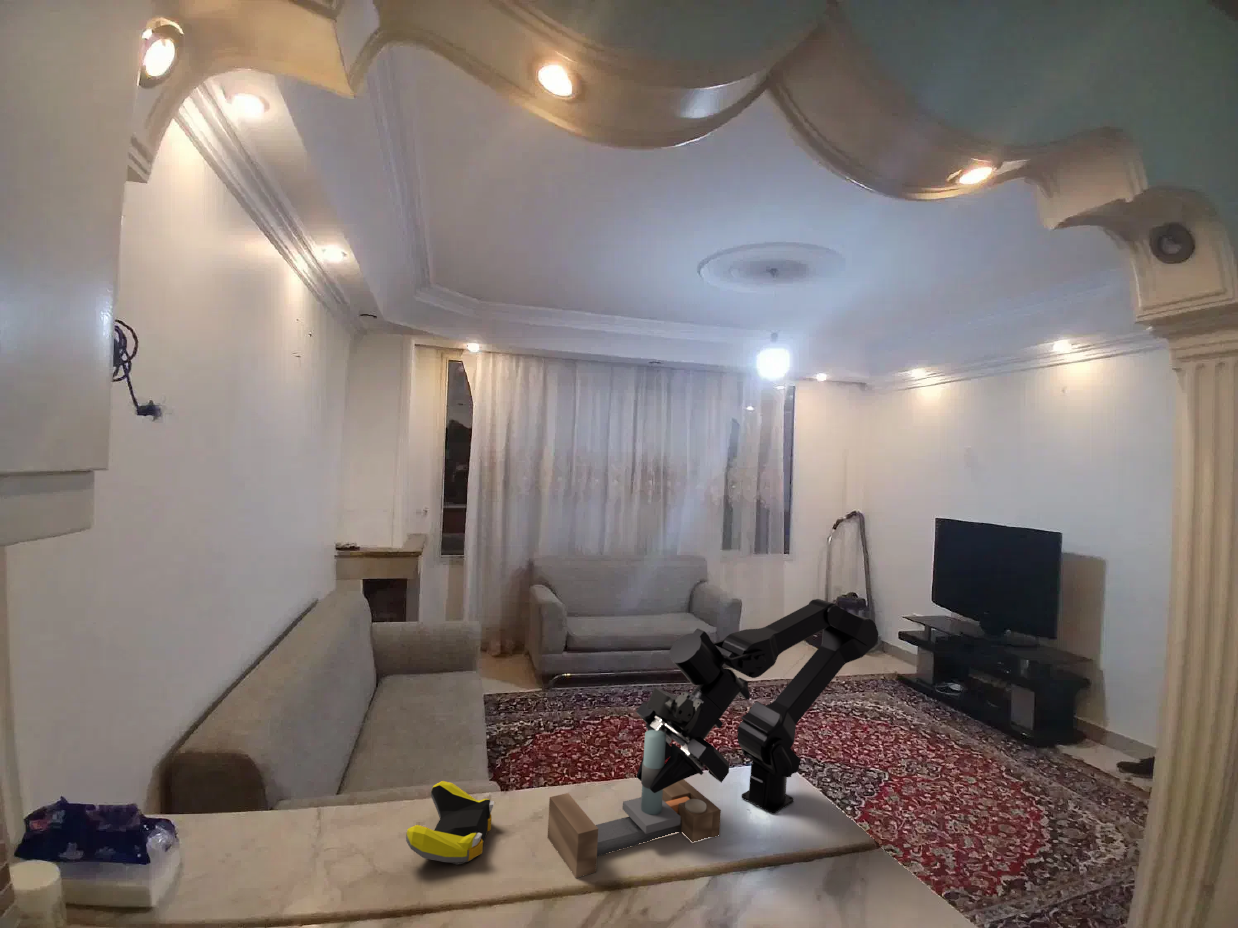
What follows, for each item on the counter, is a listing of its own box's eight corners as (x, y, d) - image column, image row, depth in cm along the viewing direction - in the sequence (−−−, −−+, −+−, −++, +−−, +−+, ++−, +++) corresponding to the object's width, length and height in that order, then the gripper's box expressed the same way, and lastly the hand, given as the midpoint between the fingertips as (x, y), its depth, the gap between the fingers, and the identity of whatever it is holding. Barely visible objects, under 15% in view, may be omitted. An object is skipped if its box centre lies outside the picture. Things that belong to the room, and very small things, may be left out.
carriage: (655, 800, 102) (659, 722, 102) (680, 824, 96) (685, 740, 96) (622, 809, 99) (626, 728, 99) (645, 833, 93) (650, 747, 93)
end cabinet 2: (682, 802, 107) (683, 775, 107) (719, 835, 98) (721, 806, 98) (656, 809, 104) (658, 781, 104) (692, 843, 95) (694, 813, 95)
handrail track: (687, 813, 104) (688, 801, 103) (702, 826, 100) (703, 813, 100) (561, 846, 93) (562, 833, 93) (573, 862, 89) (574, 848, 89)
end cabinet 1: (566, 832, 97) (568, 792, 96) (595, 872, 88) (598, 828, 88) (547, 837, 95) (549, 796, 95) (575, 877, 86) (578, 833, 86)
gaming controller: (399, 873, 86) (474, 878, 85) (401, 832, 85) (476, 837, 85) (433, 811, 101) (497, 815, 100) (435, 776, 100) (499, 780, 100)
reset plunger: (686, 805, 102) (686, 796, 102) (691, 809, 100) (691, 800, 100) (664, 810, 100) (665, 801, 100) (669, 815, 99) (670, 806, 99)
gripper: (649, 652, 108) (586, 728, 102) (717, 691, 91) (646, 784, 86) (685, 693, 111) (626, 768, 106) (757, 737, 95) (691, 828, 90)
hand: (645, 784), depth 97 cm, fingers closed on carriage, 3 cm apart
